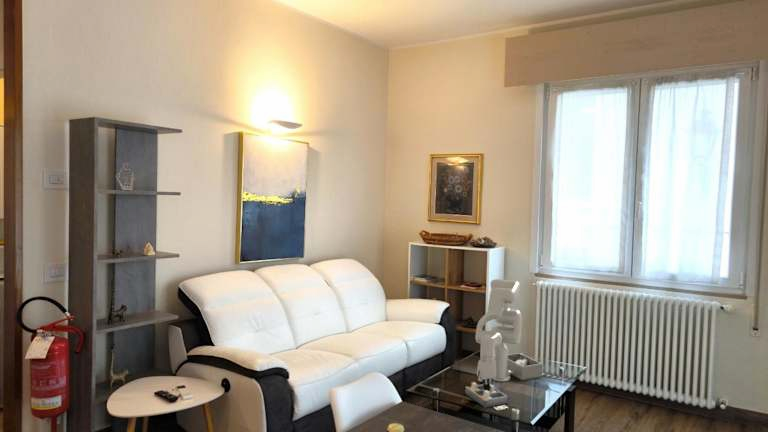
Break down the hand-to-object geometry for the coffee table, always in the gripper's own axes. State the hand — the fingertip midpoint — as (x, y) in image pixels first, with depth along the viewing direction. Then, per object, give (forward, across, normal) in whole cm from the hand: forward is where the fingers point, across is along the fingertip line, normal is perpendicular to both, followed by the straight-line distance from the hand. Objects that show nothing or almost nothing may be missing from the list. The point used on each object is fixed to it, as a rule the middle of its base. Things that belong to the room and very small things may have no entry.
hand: (486, 390), depth 294 cm
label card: (+4, 0, +14) cm, 14 cm away
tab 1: (+3, +4, -6) cm, 8 cm away
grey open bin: (+4, -42, -25) cm, 49 cm away
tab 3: (+3, -3, 0) cm, 4 cm away
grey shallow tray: (+4, 0, 0) cm, 4 cm away
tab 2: (+3, +4, +6) cm, 8 cm away
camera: (+4, -42, -25) cm, 49 cm away
